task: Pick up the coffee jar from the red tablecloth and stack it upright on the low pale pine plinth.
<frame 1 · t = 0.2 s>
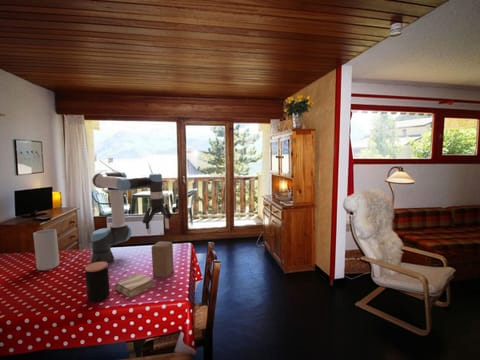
hand: (158, 230, 161), 28 cm above the table, fingers open, 13 cm apart
wooden block: (163, 274, 162), on the table
cylinder vase: (48, 267, 175), on the table
plinth: (135, 287, 146), on the table
coffee jar: (99, 297, 136), on the table
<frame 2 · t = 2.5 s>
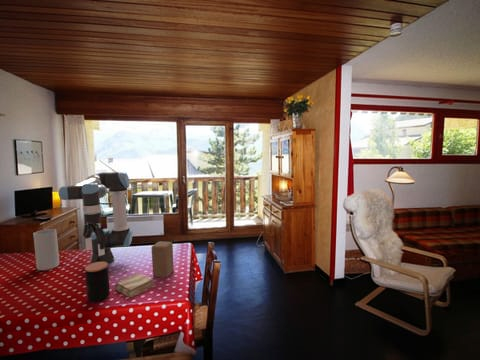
hand: (95, 252, 133), 25 cm above the table, fingers open, 13 cm apart
nothing on the table moved.
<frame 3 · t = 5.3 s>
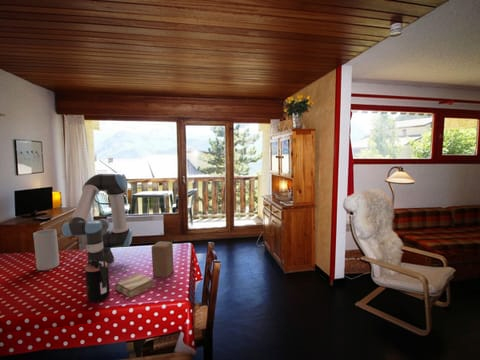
hand: (98, 289, 136), 4 cm above the table, fingers closed on coffee jar, 11 cm apart
coffee jar: (99, 297, 136), on the table, touching gripper
everything else where it was.
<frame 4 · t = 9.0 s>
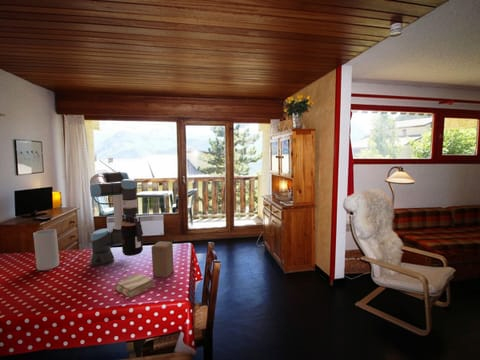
hand: (132, 245, 143), 25 cm above the table, fingers closed on coffee jar, 11 cm apart
coffee jar: (132, 252, 144), point 21 cm above the table, touching gripper
everything else where it was.
when the fingers open (10 cm above the table, at t = 12.8 s): coffee jar drops 1 cm, resting on plinth.
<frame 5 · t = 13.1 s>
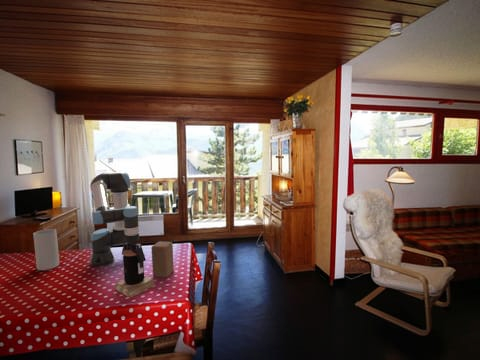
hand: (134, 269, 145), 11 cm above the table, fingers open, 13 cm apart
coffee jar: (134, 281, 146), point 4 cm above the table, touching plinth
everything else where it was.
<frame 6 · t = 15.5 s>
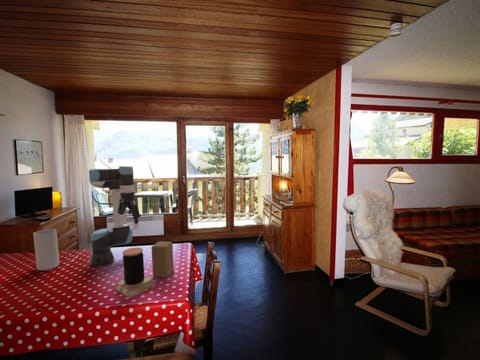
hand: (129, 226, 151), 34 cm above the table, fingers open, 13 cm apart
nothing on the table moved.
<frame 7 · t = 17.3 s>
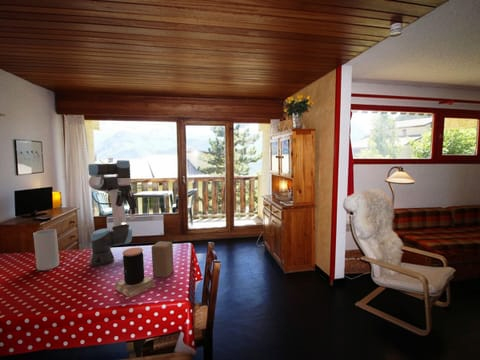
hand: (126, 217, 161), 37 cm above the table, fingers open, 13 cm apart
nothing on the table moved.
at the end: coffee jar inside the target area on the plinth (0.1 cm from its centre), point 3.8 cm above the plinth's base; coffee jar tilted 0°; the gripper is holding nothing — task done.
